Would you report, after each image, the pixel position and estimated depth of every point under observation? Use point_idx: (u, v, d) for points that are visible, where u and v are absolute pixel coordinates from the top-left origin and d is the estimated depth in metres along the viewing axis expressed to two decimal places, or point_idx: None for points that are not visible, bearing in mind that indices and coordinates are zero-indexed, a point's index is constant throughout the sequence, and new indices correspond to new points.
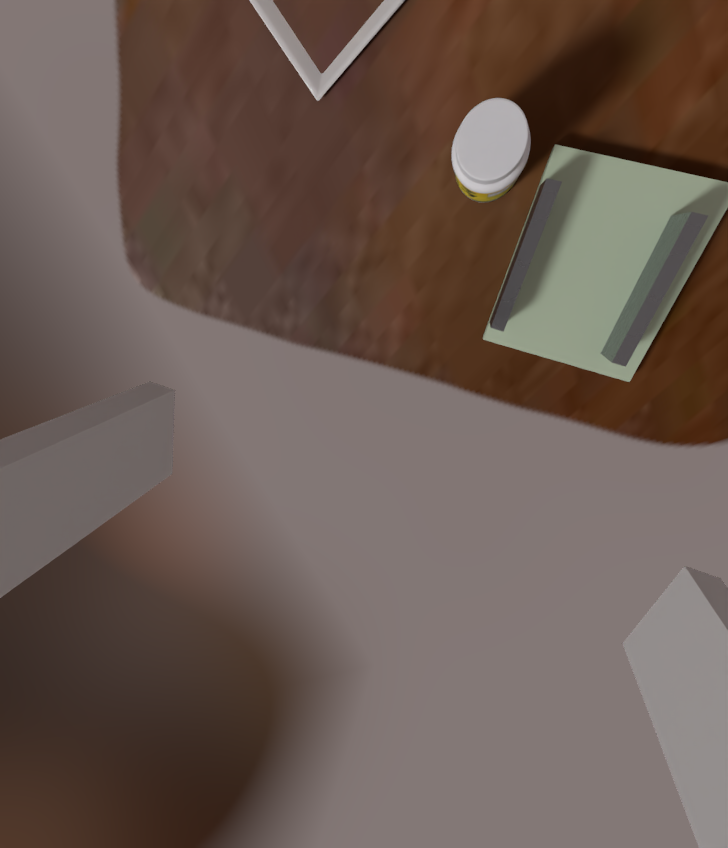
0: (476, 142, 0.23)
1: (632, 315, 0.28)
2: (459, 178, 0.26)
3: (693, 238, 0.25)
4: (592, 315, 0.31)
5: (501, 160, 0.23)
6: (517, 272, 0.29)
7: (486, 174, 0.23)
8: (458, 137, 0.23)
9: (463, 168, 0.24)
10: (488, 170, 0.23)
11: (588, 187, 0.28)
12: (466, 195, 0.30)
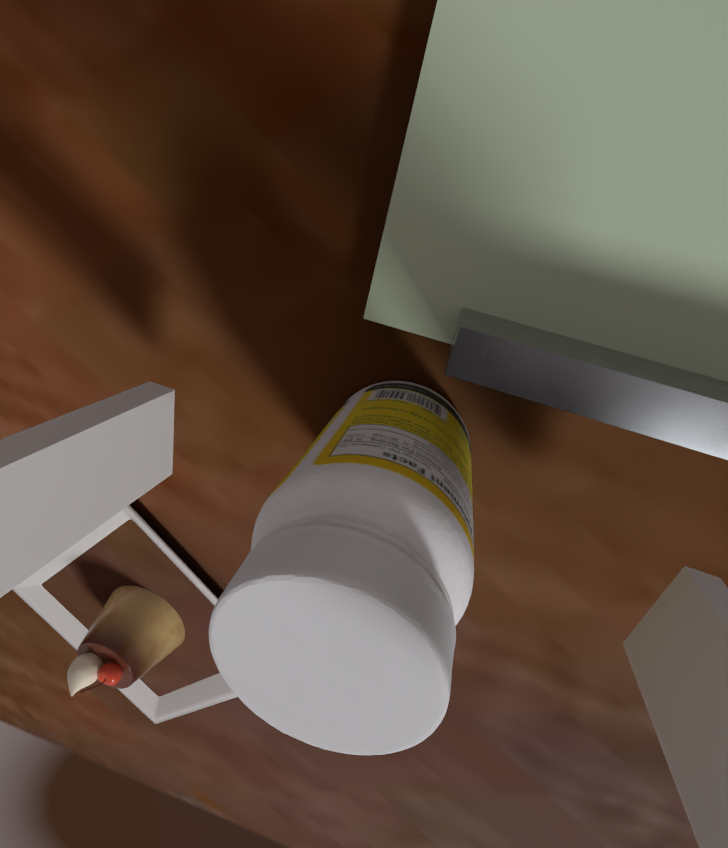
0: (324, 708, 0.07)
1: None
2: None
3: None
4: None
5: (384, 659, 0.06)
6: None
7: (427, 703, 0.06)
8: (311, 744, 0.07)
9: (400, 749, 0.07)
10: (414, 696, 0.06)
11: (472, 210, 0.10)
12: None
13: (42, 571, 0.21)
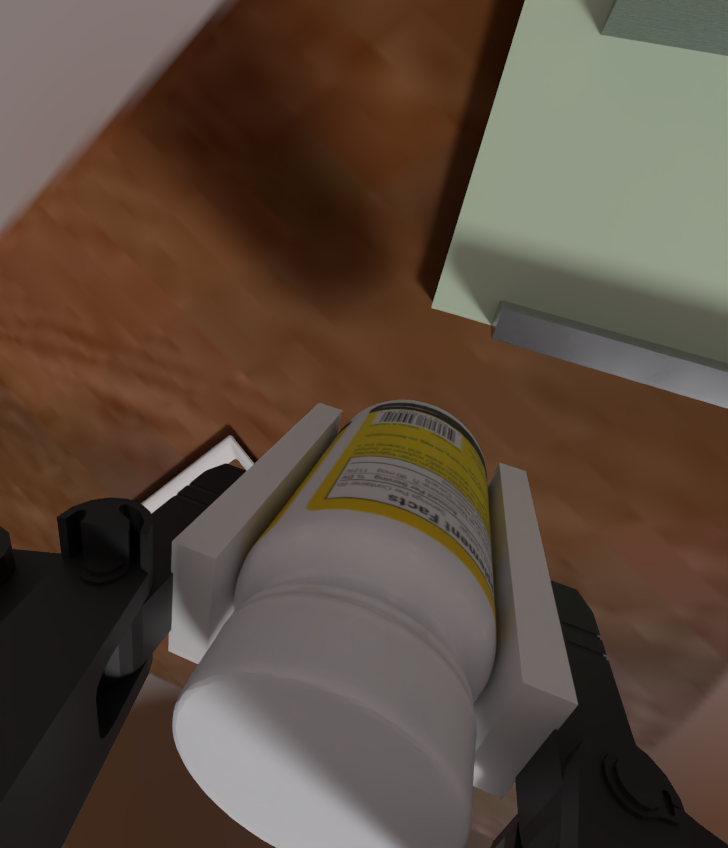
0: (313, 823, 0.05)
1: None
2: None
3: None
4: None
5: (387, 780, 0.05)
6: (684, 380, 0.12)
7: (442, 835, 0.05)
8: None
9: None
10: (425, 825, 0.05)
11: (508, 237, 0.15)
12: None
13: (157, 505, 0.27)
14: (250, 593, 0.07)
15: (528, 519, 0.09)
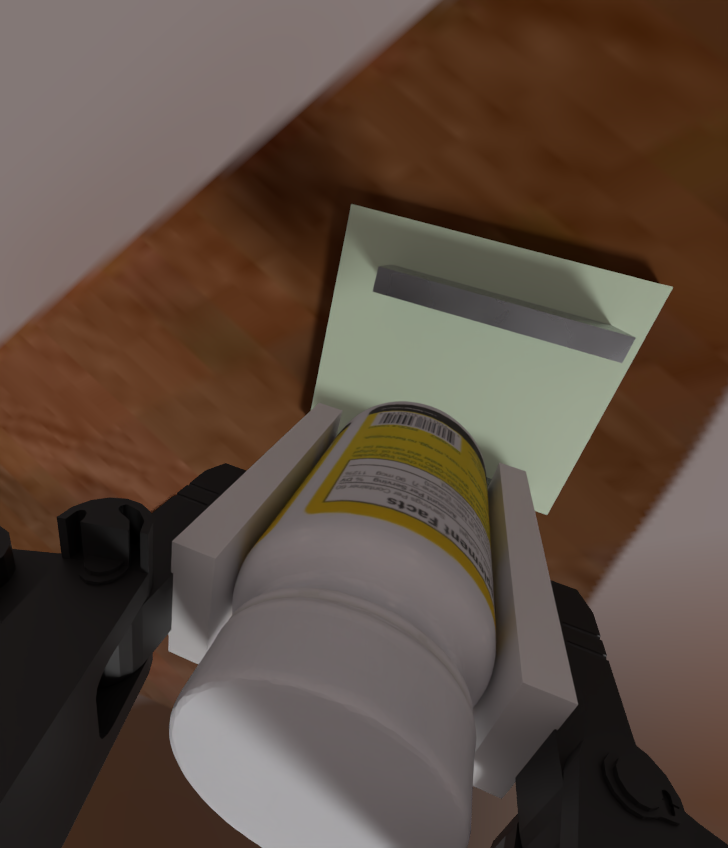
0: (310, 829, 0.05)
1: None
2: None
3: (410, 278, 0.16)
4: (526, 368, 0.19)
5: (385, 788, 0.04)
6: None
7: (440, 843, 0.05)
8: None
9: None
10: (424, 833, 0.05)
11: (350, 393, 0.22)
12: None
13: None
14: (248, 597, 0.07)
15: (528, 519, 0.09)
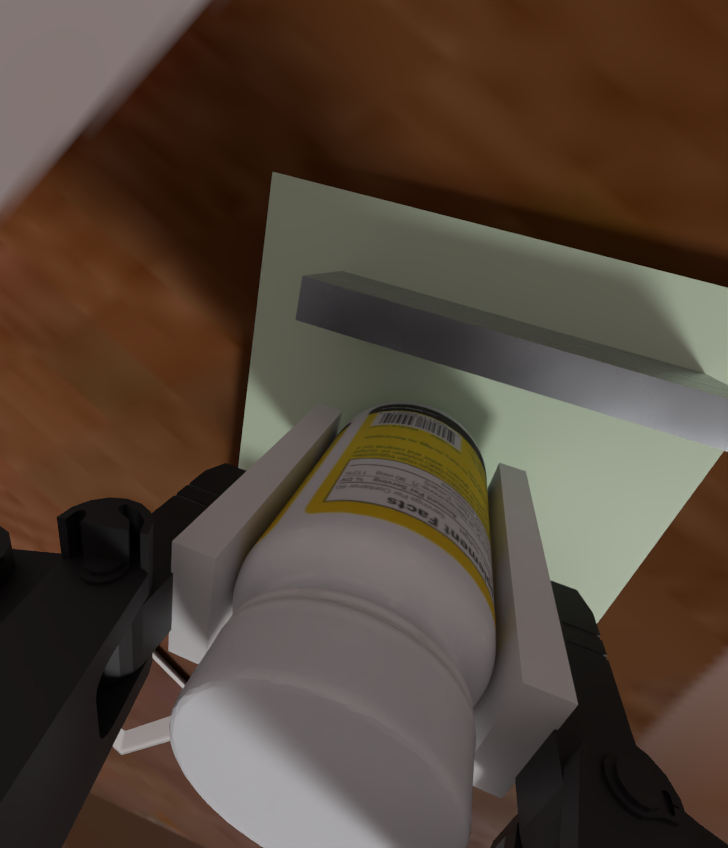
0: (311, 828, 0.05)
1: None
2: None
3: (358, 298, 0.09)
4: (557, 435, 0.12)
5: (385, 788, 0.04)
6: None
7: (441, 842, 0.05)
8: None
9: None
10: (424, 833, 0.05)
11: None
12: None
13: None
14: (248, 596, 0.07)
15: (528, 519, 0.09)
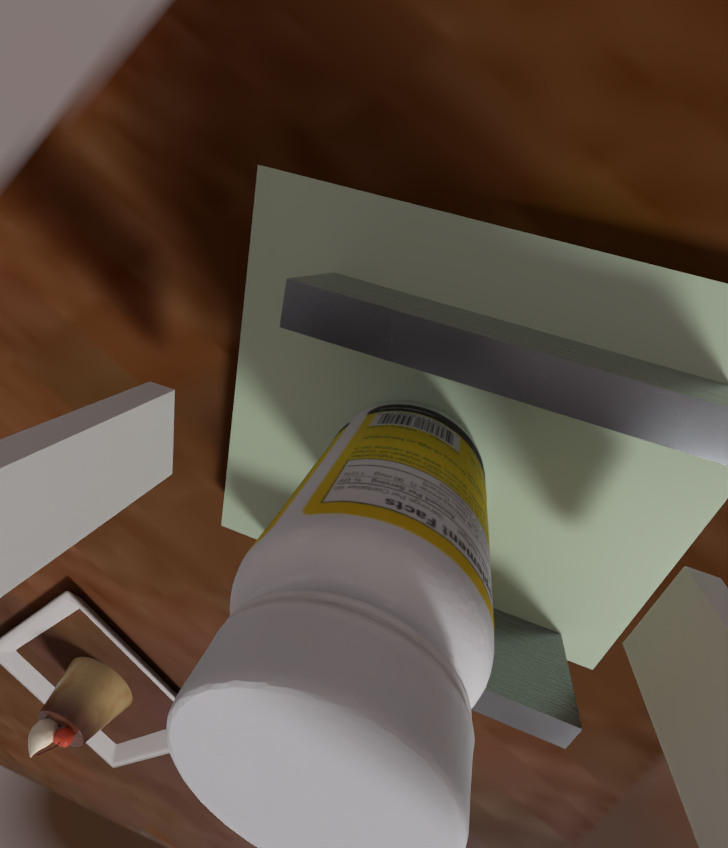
0: (308, 831, 0.05)
1: None
2: None
3: (348, 303, 0.08)
4: (567, 451, 0.11)
5: (382, 791, 0.04)
6: None
7: (438, 845, 0.05)
8: None
9: None
10: (422, 835, 0.05)
11: (280, 475, 0.14)
12: None
13: (14, 642, 0.25)
14: (246, 598, 0.07)
15: None
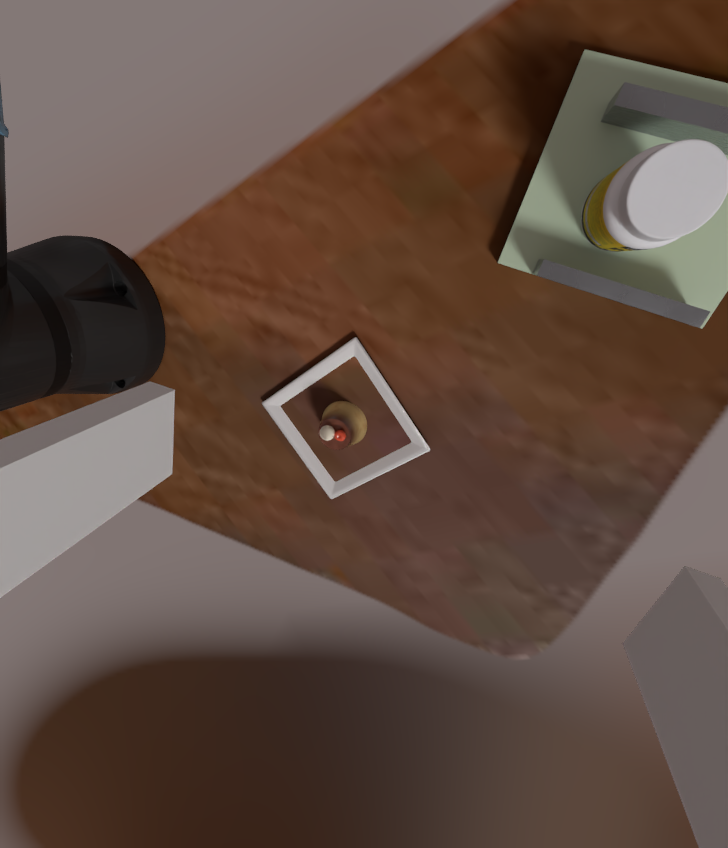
0: (672, 210, 0.18)
1: None
2: (679, 237, 0.20)
3: (649, 91, 0.21)
4: None
5: (708, 173, 0.18)
6: (633, 298, 0.24)
7: (719, 193, 0.18)
8: (657, 235, 0.19)
9: (698, 227, 0.18)
10: (715, 191, 0.18)
11: (546, 223, 0.27)
12: None
13: (288, 393, 0.38)
14: (628, 174, 0.20)
15: None
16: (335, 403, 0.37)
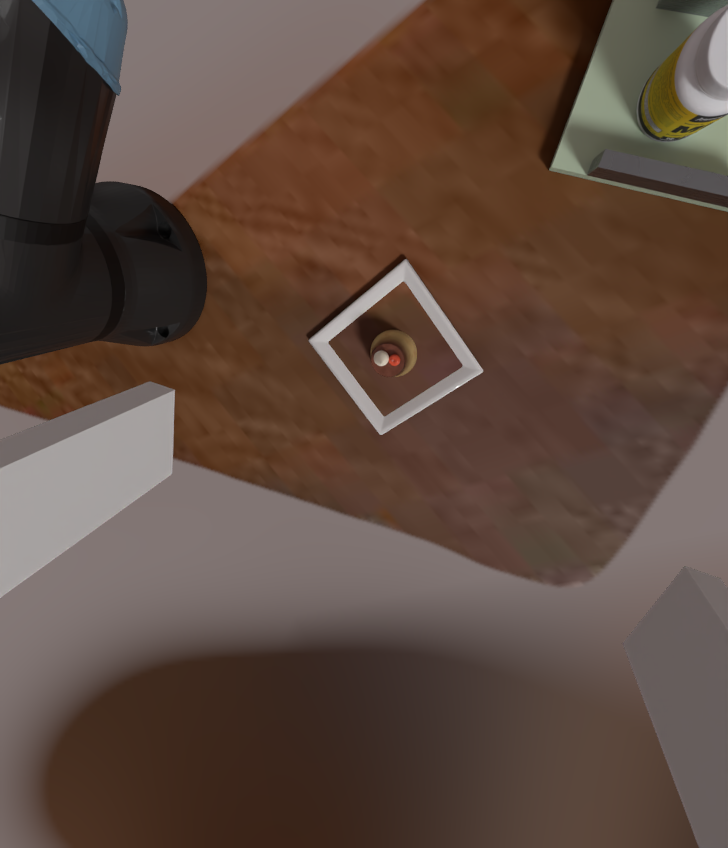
0: None
1: None
2: None
3: None
4: None
5: None
6: (697, 180, 0.25)
7: None
8: None
9: None
10: None
11: (600, 120, 0.27)
12: None
13: (335, 327, 0.38)
14: (703, 35, 0.20)
15: None
16: (384, 332, 0.37)
